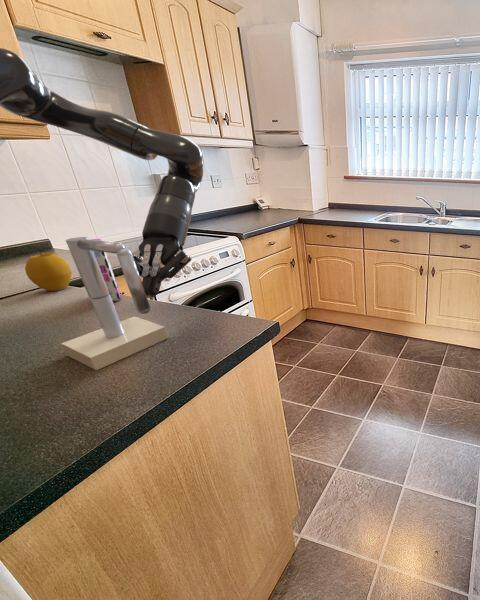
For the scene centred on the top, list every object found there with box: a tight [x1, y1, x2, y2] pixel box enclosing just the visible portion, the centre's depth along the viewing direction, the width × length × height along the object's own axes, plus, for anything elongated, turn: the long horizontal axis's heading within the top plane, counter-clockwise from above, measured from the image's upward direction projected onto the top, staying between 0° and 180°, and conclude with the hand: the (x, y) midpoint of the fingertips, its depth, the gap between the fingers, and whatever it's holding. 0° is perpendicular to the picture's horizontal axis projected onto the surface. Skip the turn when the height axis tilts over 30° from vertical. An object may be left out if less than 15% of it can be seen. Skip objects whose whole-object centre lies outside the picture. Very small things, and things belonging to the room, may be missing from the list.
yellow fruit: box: [24, 252, 72, 292], centre depth 103 cm, size 10×10×12 cm
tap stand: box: [61, 294, 169, 371], centre depth 71 cm, size 14×12×12 cm
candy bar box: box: [91, 238, 122, 303], centre depth 96 cm, size 11×5×16 cm, turn 40°
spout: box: [65, 236, 151, 315], centre depth 65 cm, size 15×3×14 cm, turn 71°
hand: (147, 296), depth 67 cm, fingers closed
